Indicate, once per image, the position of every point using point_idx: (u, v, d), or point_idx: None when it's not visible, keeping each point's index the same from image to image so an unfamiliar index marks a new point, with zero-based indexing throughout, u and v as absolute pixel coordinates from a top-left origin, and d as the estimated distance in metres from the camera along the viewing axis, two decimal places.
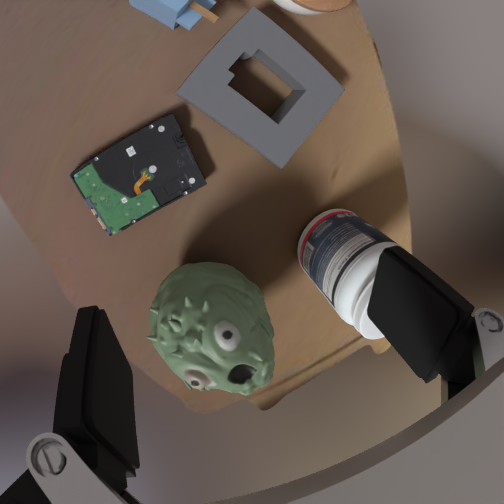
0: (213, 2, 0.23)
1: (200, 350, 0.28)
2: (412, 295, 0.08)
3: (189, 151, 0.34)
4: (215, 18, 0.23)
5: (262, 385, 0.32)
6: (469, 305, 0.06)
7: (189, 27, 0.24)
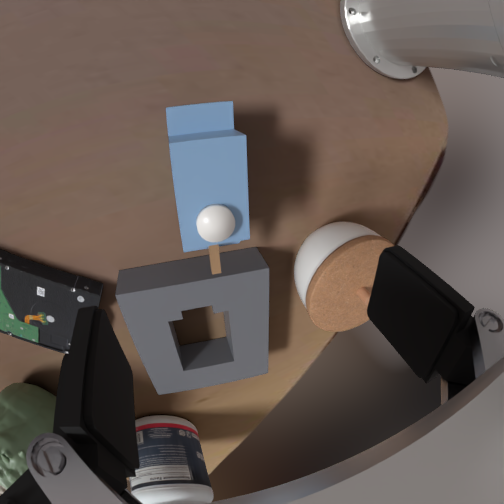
0: (236, 240, 0.24)
1: None
2: (412, 295, 0.08)
3: None
4: (216, 271, 0.23)
5: None
6: (469, 305, 0.06)
7: (184, 250, 0.23)
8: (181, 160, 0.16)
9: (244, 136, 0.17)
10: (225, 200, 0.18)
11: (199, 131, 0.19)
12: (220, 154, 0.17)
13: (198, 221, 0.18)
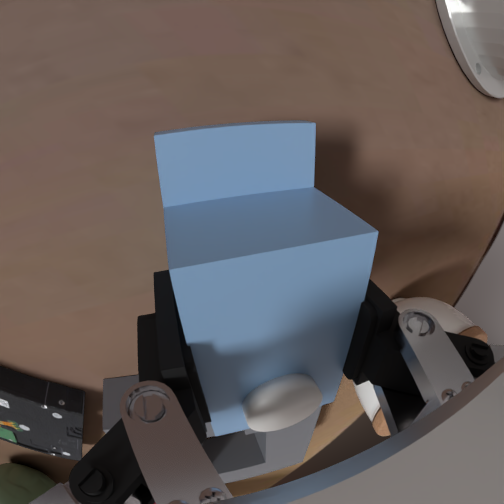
0: None
1: None
2: None
3: (80, 442, 0.17)
4: None
5: None
6: (391, 304, 0.07)
7: None
8: (207, 309, 0.06)
9: (374, 235, 0.06)
10: (306, 366, 0.08)
11: (238, 193, 0.08)
12: (314, 285, 0.06)
13: (250, 415, 0.07)
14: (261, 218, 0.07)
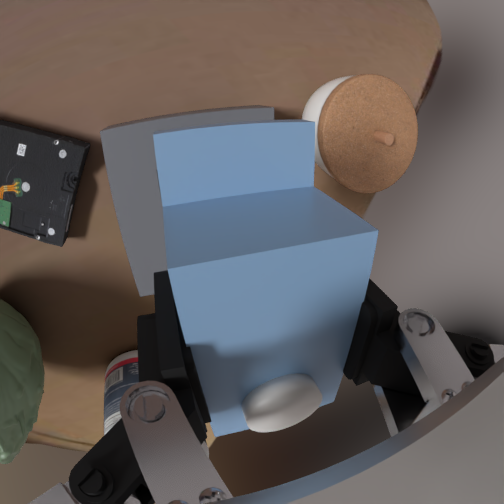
0: None
1: None
2: None
3: (69, 201, 0.23)
4: None
5: None
6: (391, 304, 0.07)
7: None
8: (206, 308, 0.06)
9: (374, 234, 0.06)
10: (306, 366, 0.08)
11: (237, 192, 0.08)
12: (314, 284, 0.06)
13: (250, 415, 0.07)
14: (260, 217, 0.07)
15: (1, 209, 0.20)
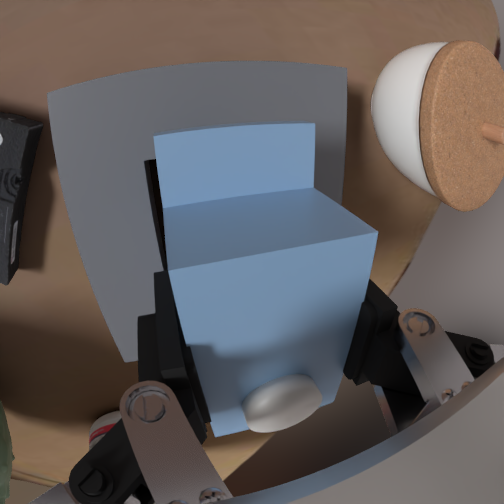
0: None
1: None
2: None
3: (9, 217, 0.12)
4: None
5: None
6: (391, 304, 0.07)
7: None
8: (206, 310, 0.06)
9: (374, 235, 0.06)
10: (306, 367, 0.08)
11: (237, 194, 0.08)
12: (314, 285, 0.06)
13: (250, 416, 0.07)
14: (260, 219, 0.07)
15: None
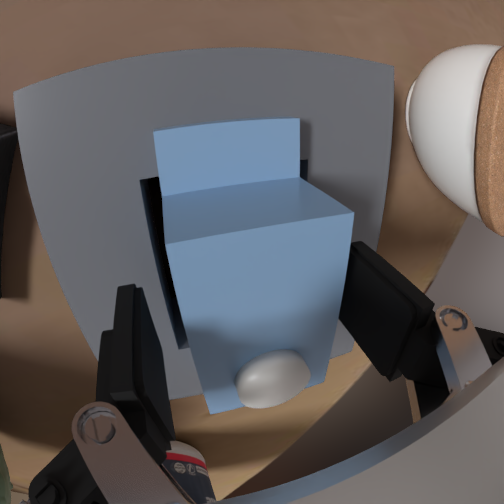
0: None
1: None
2: (371, 291, 0.09)
3: None
4: None
5: None
6: (429, 301, 0.07)
7: None
8: (199, 281, 0.07)
9: (350, 216, 0.07)
10: (294, 342, 0.09)
11: (229, 183, 0.09)
12: (296, 260, 0.07)
13: (242, 389, 0.08)
14: (248, 203, 0.08)
15: None
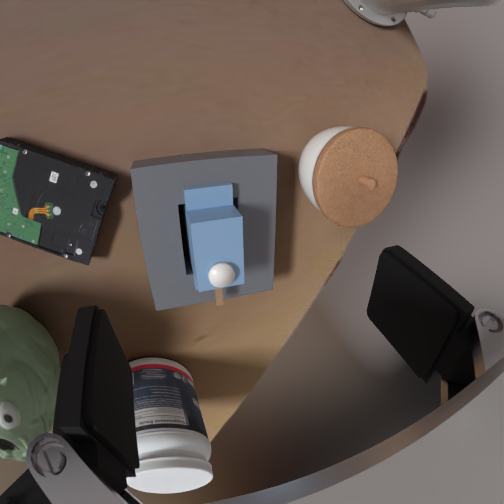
0: None
1: None
2: (412, 295, 0.08)
3: (97, 226, 0.27)
4: (220, 303, 0.32)
5: (18, 460, 0.18)
6: (469, 305, 0.06)
7: (196, 288, 0.31)
8: (198, 234, 0.25)
9: (241, 217, 0.26)
10: (228, 259, 0.27)
11: (208, 207, 0.28)
12: (225, 230, 0.26)
13: (210, 274, 0.27)
14: (213, 213, 0.26)
15: (31, 229, 0.25)
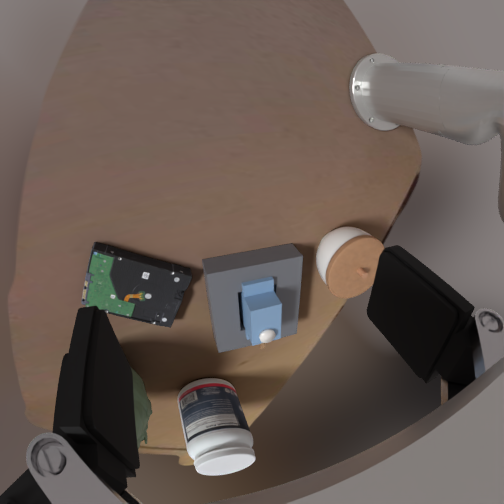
0: None
1: None
2: (412, 295, 0.08)
3: (179, 304, 0.43)
4: (263, 347, 0.47)
5: None
6: (469, 305, 0.06)
7: (247, 338, 0.47)
8: (254, 316, 0.40)
9: (281, 304, 0.41)
10: (271, 326, 0.42)
11: (258, 293, 0.43)
12: (271, 312, 0.41)
13: (260, 336, 0.42)
14: (262, 301, 0.41)
15: (126, 307, 0.40)
